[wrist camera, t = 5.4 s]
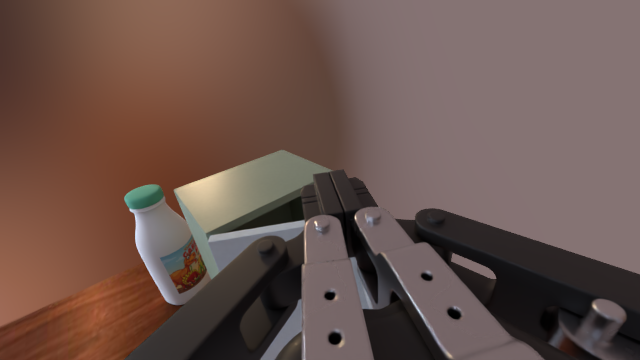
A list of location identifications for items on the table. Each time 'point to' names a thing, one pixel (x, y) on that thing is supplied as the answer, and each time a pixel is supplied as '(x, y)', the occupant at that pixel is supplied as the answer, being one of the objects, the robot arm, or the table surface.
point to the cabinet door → (236, 242)
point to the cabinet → (246, 198)
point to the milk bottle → (166, 246)
